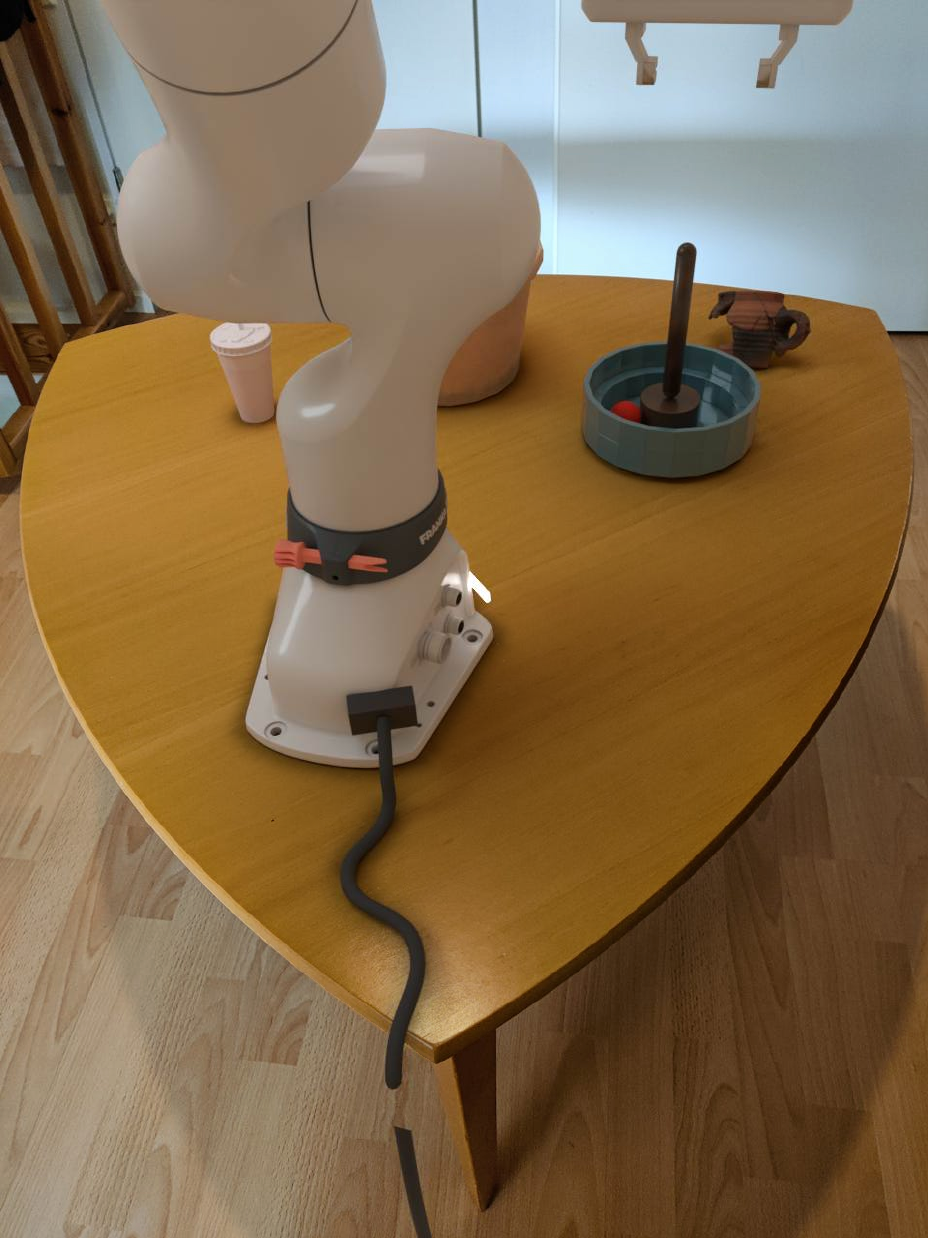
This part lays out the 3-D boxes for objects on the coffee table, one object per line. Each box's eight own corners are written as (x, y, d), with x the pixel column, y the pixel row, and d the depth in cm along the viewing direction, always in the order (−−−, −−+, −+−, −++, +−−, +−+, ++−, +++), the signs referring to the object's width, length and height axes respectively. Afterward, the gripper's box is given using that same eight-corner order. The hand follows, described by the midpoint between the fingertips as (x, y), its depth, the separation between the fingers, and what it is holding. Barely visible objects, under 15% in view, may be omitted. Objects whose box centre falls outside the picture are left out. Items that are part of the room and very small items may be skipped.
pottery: (580, 376, 112) (585, 251, 102) (415, 443, 104) (404, 314, 94) (471, 307, 126) (466, 191, 116) (317, 362, 117) (298, 241, 107)
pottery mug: (690, 365, 114) (696, 289, 112) (725, 368, 121) (732, 297, 119) (792, 367, 106) (801, 286, 105) (824, 370, 114) (833, 295, 112)
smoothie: (292, 398, 111) (270, 278, 102) (279, 430, 107) (254, 307, 97) (236, 398, 112) (209, 278, 102) (221, 429, 107) (191, 307, 98)
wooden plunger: (687, 443, 100) (711, 261, 87) (630, 431, 102) (645, 251, 89) (704, 413, 104) (729, 234, 91) (648, 402, 106) (665, 225, 93)
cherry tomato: (620, 440, 103) (635, 437, 100) (598, 421, 102) (612, 417, 99) (637, 416, 104) (652, 411, 100) (614, 396, 103) (629, 392, 100)
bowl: (746, 493, 95) (756, 440, 91) (568, 473, 99) (570, 421, 95) (755, 399, 107) (764, 348, 103) (596, 384, 111) (598, 335, 107)
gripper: (575, -119, 71) (570, 93, 80) (879, -125, 66) (836, 100, 76) (590, -133, 75) (583, 70, 85) (876, -139, 71) (835, 76, 80)
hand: (705, 84), depth 80 cm, fingers open, 8 cm apart
